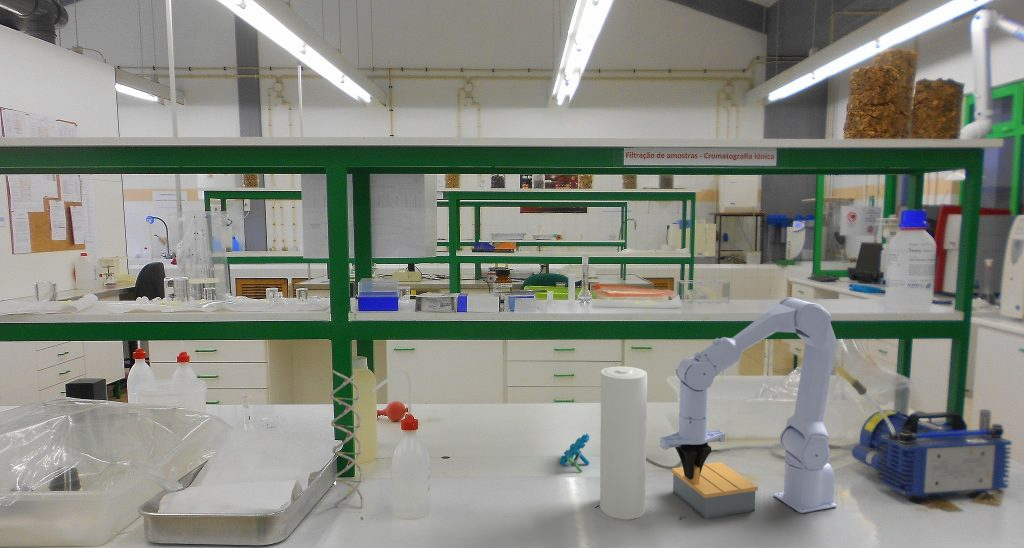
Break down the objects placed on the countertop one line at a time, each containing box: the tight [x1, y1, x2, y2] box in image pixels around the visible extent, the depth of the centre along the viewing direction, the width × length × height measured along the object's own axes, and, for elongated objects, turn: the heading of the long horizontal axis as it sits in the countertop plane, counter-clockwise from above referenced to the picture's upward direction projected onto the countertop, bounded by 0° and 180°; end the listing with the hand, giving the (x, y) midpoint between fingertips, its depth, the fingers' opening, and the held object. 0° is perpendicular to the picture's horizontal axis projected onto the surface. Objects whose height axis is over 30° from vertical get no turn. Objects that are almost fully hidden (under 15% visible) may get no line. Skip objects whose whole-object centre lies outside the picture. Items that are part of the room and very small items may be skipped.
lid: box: [671, 461, 759, 498], centre depth 123 cm, size 13×13×5 cm
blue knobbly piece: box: [558, 433, 591, 473], centre depth 142 cm, size 11×6×10 cm
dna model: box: [329, 369, 364, 509], centre depth 121 cm, size 7×6×30 cm
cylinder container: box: [599, 365, 648, 520], centre depth 120 cm, size 9×9×30 cm
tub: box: [672, 473, 756, 520], centre depth 123 cm, size 12×12×4 cm
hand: (691, 477), depth 122 cm, fingers closed on lid
